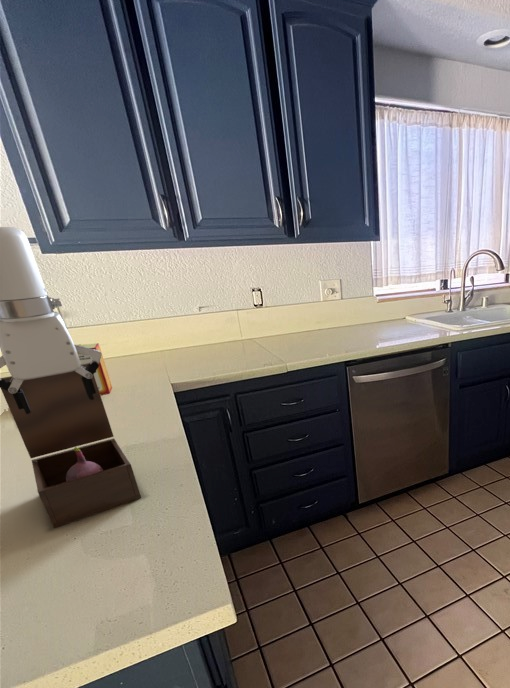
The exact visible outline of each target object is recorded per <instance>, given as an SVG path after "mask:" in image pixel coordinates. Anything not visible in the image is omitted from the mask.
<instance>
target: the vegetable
mask: <svg viewBox="0 0 510 688" xmlns="http://www.w3.org/2000/svg"><path fill="white" fill-rule="evenodd" d="M78 448H79V447H78V446H76V447H73V449H74V450H75V451H76V454H77V457H78V461H77V463H76V464H75V465H73V466H72V467H71V468H70V469H69V470H68V472H67V474H66V482H67V481H71V480H74V479H77V478H81V477H84V476H87V475H91V474H94V473H97V472H101V471H103V469H102V468H101V466H100V465H98V464H96V463H94V462H90V461H86V460H85V458H84V456H83V454H82V452H81V451H80V449H78Z"/></svg>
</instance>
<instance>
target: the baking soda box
mask: <svg viewBox="0 0 510 688" xmlns="http://www.w3.org/2000/svg"><path fill="white" fill-rule="evenodd" d="M77 345H78V346H82V347H86V348H90V349H95V350H98V351H100V352H101V354H102V355H101V359H100V362H99V367H98V369H97V370H96V371H95V373H94V377H95V380H96V383H97V386H98V389H99V393H100V396H102V395H107V394H108V395H109V394H111V392H112V389H113V385H112V382H111V379H110V376H109V372H108V369H107V366H106V363H105V359H104V357H103V353H102V350H101V346H100V344H99V343H97V342H96V343H86V344H82V343H79V344H77ZM78 356H79V359H80V363H81V364H86V363H90V362H91V356H88V355H84V354H80V353H78Z"/></svg>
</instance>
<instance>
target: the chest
mask: <svg viewBox="0 0 510 688" xmlns="http://www.w3.org/2000/svg"><path fill="white" fill-rule="evenodd" d="M77 448H78V449H80V451H81V452H82V454H83V456H84V458H85V460H86V461H90V462H94V463H96V464H98V465H100V466H101V468H102V469H103V471H101V472H97V473H94V474H91V475H87V476H84V477H81V478H77V479H74V480H71V481H67V482H66V474H67V472H68V470H69V469H70V468H71V467H72V466H73V465H75V464H76V463H77V461H78V457H77V454H76V451H75V450H74V448H70V449H66V450H63V451H61V452H60V451H59V452H55V453H51V454H48V455H44V456H40V457H36V458H33V459H31V464H32V469H33V473H34V474H33V475H34V479H35V484H36V489H37V493H38V496H39V498H40V500H41V502H42V505H43V507H44V509H45V512H46V514H47V516H48V518H49V521H50V523H51V526H52V528H53V529H55V528H58V527H62V526H64V525H67V524H70V523H73V522H76V521H79V520H82V519H84V518H87V517H90V516H93V515H95V514H98V513H101V512H104V511H108V510H110V509H113V508H116V507H119V506H122V505H125V504H128V503H130V502H134V501H136V500H139V499H141V498H142V496H141V492H140V489H139V486H138V483H137V480H136V479H137V478H136V476H135V473H134V470H133V466H132V464H131V462H130V460H129V459H128V457H127V456H126V454H125V453H124V451H123V450H122V448H121V446H120V445H119V444H118V441H117V440H116V439H115V438H114V437H112V438H108V439H104V440H100V441H97V442H93V443H89V444H85V445H82V446H78V447H77Z"/></svg>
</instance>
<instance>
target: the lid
mask: <svg viewBox="0 0 510 688" xmlns="http://www.w3.org/2000/svg"><path fill="white" fill-rule="evenodd" d="M88 365H89V363H86V364H81V366H83V367H84V368H86V367H87V366H88ZM0 378H1V379H4V380H6V381H8V382H10V381H11V379H12V376H11V375H9V376H4V377H0ZM81 378H82V375H80V374H79V373H77V372H75V371H72V372H67V373H62V374H57V375H51V376H46V377H40V378H35V379H29V380H24V381H23V382H22V384H21V386H20V389H22V390H23V393H24V395H25V397H26V400H27V402H28V405H29V407H30V410H31V413H30V414H26V413H25V410H24V409H20V410H19V408H18V406H17V404H16V401H15V399H14V397H13V394H12V393H10V392H9V391H6V390H4V389H2V388H0V390H1V393H2V394H3V395H2V396H3V397H4V399H5V402H6V404H7V407H8V409H9V411H10V413H11V416H12V418H13V420H14V423H15V425H16V427H17V430H18V432H19V435H20V438H21V439H22V442H23V444H24V446H25V448H26V451H27V453H28V456H29V458H30V459H36V458H39V457H43V456H47V455H51V454H55V453H58V452H60V451H61V452H62V451H66V450H70V449H74V448H75V447H81V446H85V445H89V444H93V443H96V442H100V441H104V440H108V439H112V438H114V437H115V436H114V433H113V431H112V426H111V424H110V420H109V418H108V414H107V411H106V409H105V405H104V402H103V399H102V395H100V393H99V389H98V386H97V383H96V380H95V377H94V374H93V377H92V381H93V384H94V387H95V390H96V393H95V394H93V397H94V400H91V399H89V398H88V396H87V393H86V391H85V388H84V385H83V382H82V379H81Z"/></svg>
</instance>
